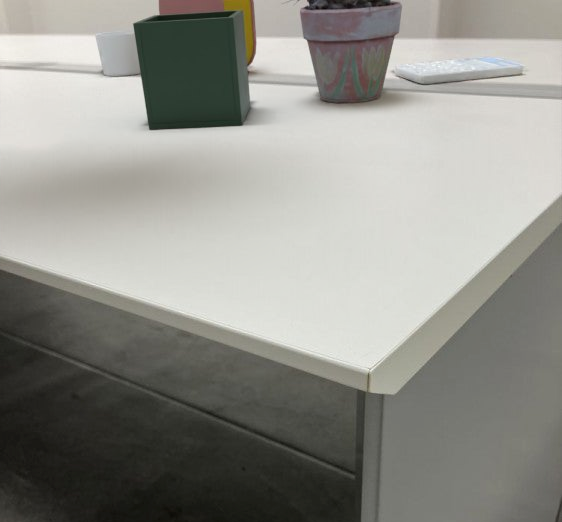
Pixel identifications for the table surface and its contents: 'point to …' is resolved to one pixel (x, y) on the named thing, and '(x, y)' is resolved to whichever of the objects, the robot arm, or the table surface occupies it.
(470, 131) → the table surface
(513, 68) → the calculator
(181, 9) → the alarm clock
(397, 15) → the potted plant
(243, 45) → the trash can
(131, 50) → the mug
